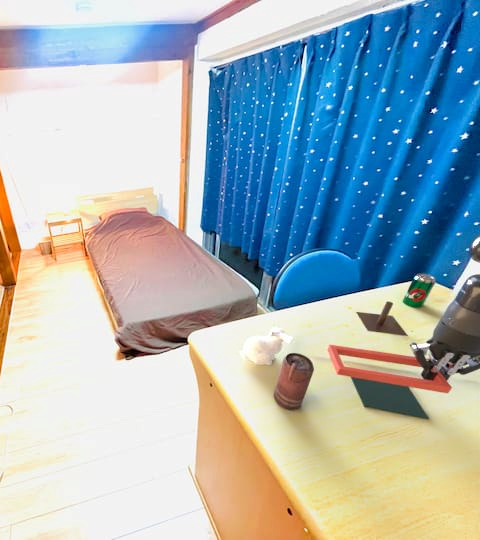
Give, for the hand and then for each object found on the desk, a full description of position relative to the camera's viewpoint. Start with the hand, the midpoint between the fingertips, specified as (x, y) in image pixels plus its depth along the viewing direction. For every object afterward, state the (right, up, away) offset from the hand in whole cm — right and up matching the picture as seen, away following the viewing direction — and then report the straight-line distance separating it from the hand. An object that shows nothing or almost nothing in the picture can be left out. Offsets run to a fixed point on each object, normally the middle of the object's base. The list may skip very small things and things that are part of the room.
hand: (431, 380), depth 65 cm
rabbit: (-30, 0, +18) cm, 35 cm away
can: (-31, -7, +5) cm, 32 cm away
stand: (+11, +8, +25) cm, 29 cm away
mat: (-6, -5, +5) cm, 9 cm away
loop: (-9, +2, +3) cm, 10 cm away
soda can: (+29, +13, +32) cm, 45 cm away
